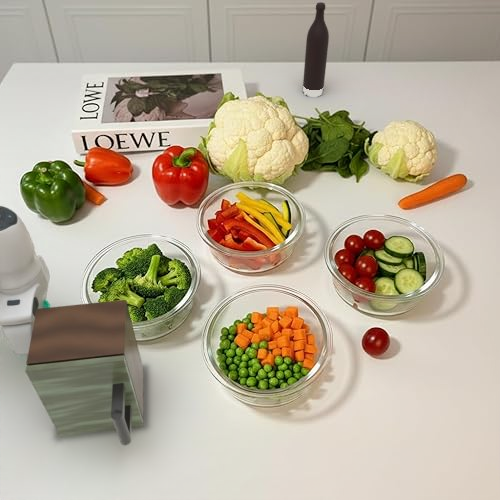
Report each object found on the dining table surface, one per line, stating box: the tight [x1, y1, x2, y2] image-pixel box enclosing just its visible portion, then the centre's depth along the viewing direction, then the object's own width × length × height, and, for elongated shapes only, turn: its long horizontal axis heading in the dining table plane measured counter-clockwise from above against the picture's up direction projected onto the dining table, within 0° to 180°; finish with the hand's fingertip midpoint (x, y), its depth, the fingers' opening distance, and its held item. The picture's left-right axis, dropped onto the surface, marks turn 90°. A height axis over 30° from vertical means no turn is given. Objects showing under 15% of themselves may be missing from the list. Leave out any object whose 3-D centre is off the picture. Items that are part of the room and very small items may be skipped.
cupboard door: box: [24, 355, 144, 446], centre depth 90 cm, size 7×15×22 cm, turn 98°
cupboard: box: [26, 299, 145, 420], centre depth 96 cm, size 11×15×22 cm
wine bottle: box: [302, 2, 330, 90], centre depth 176 cm, size 7×7×30 cm
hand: (41, 327), depth 108 cm, fingers closed on candle, 5 cm apart
